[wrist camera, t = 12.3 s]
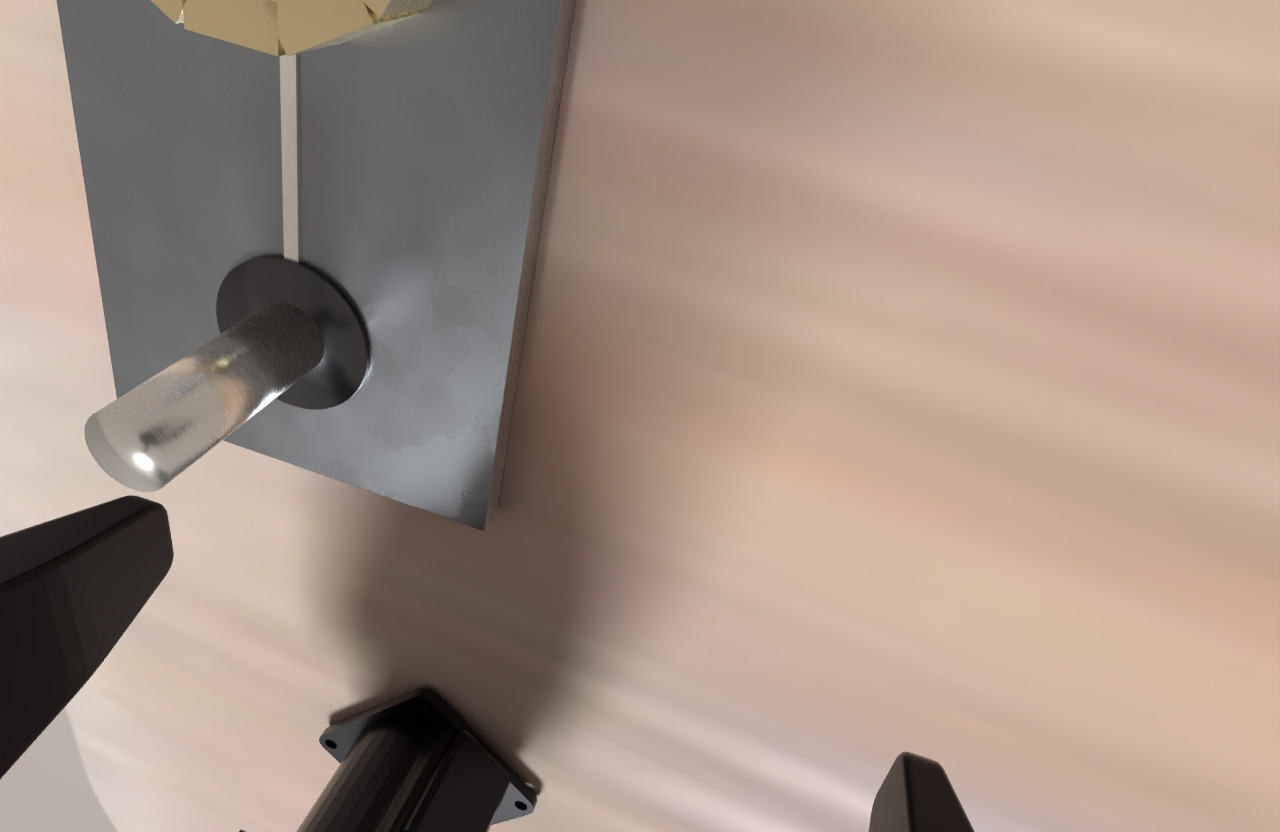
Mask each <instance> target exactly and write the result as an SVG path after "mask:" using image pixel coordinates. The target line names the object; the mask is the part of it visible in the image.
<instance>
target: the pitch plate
mask: <svg viewBox="0 0 1280 832" xmlns="http://www.w3.org/2000/svg"><path fill="white" fill-rule="evenodd" d="M57 5H58V11H59V18H60V25H61V31H62V38H63V45H64V51H65V58H66V64H67V71H68V78H69V84H70V91H71V97H72V104H73V111H74V117H75V124H76V130H77V137H78V144H79V150H80V157H81V164H82V170H83V177H84V183H85V190H86V197H87V203H88V210H89V216H90V223H91V230H92V236H93V243H94V250H95V256H96V263H97V269H98V276H99V283H100V289H101V296H102V302H103V309H104V316H105V322H106V329H107V335H108V342H109V349H110V355H111V362H112V369H113V375H114V382H115V388H116V395H117V400H115V401H114V402H112V403H110V404H109V405H107V406H106V407H104V408H102V409H101V410H99V411H98V412H96V413H94V414H93V415H92V416H91V417H89V419H88V420H87V422H86V425H85V439H86V443H87V446H88V448H89V450H90V452H91V454H92V456H93V457H94V459H95V460H96V462H97V463H98V464H99V465H100V467H101V468H102V469H103V470H104V471H105V472H106V473H107V474H108V475H110V476H111V477H112V478H113V479H115V480H116V481H118V482H119V483H121V484H123V485H125V486H127V487H129V488H131V489H134V490H137V491H142V492H153V491H157V490H159V489H161V488H162V487H164V486H165V485H166V484H167V483H169V482H170V481H171V480H172V479H174V478H175V477H176V476H178V475H179V474H180V473H181V472H183V471H184V470H185V469H186V468H188V467H189V466H190V465H192V464H193V463H194V462H195V461H197V460H198V459H199V458H200V457H202V456H203V455H204V454H206V453H207V452H208V451H209V450H211V449H212V448H213V447H214V446H216V445H217V444H218V443H220V442H221V441H222V440H224V441H227V442H229V443H232V444H235V445H238V446H241V447H244V448H247V449H250V450H253V451H255V452H258V453H261V454H264V455H267V456H270V457H273V458H276V459H278V460H281V461H284V462H287V463H290V464H293V465H296V466H299V467H302V468H304V469H307V470H310V471H313V472H316V473H319V474H322V475H325V476H327V477H330V478H333V479H336V480H339V481H342V482H345V483H348V484H351V485H353V486H356V487H359V488H362V489H365V490H368V491H371V492H374V493H376V494H379V495H382V496H385V497H388V498H391V499H394V500H397V501H400V502H402V503H405V504H408V505H411V506H414V507H417V508H420V509H423V510H425V511H428V512H431V513H434V514H437V515H440V516H443V517H446V518H449V519H451V520H454V521H457V522H460V523H463V524H466V525H469V526H472V527H474V528H477V529H480V530H483V531H484V530H485V529H486V527H487V526H488V524H489V523H490V521H491V520H492V518H493V517H494V515H495V514H496V512H497V510H498V504H499V497H500V491H501V484H502V478H503V471H504V465H505V458H506V452H507V445H508V439H509V432H510V425H511V419H512V412H513V406H514V399H515V393H516V386H517V380H518V373H519V367H520V360H521V354H522V347H523V340H524V334H525V327H526V321H527V314H528V308H529V301H530V295H531V288H532V282H533V275H534V269H535V262H536V255H537V249H538V242H539V236H540V229H541V223H542V216H543V210H544V203H545V197H546V190H547V184H548V177H549V170H550V164H551V157H552V151H553V144H554V138H555V131H556V125H557V118H558V112H559V105H560V99H561V92H562V85H563V79H564V72H565V66H566V59H567V53H568V46H569V40H570V33H571V27H572V20H573V14H574V7H575V0H57Z"/></svg>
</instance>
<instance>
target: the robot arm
mask: <svg viewBox="0 0 1280 832" xmlns="http://www.w3.org/2000/svg"><path fill="white" fill-rule="evenodd" d="M173 555H174V553H173V546H172V539H171V533H170V527H169V521H168V514H167V511H166V509H165V508H164V507H163V505H161V504H159V503H156V502H153V501H150V500H147V499H144V498H141V497H138V496H125V497H121V498H118V499H115V500H112V501H109V502H106V503H103V504H100V505H97V506H94V507H91V508H87V509H84V510H81V511H78V512H75V513H72V514H69V515H66V516H63V517H60V518H57V519H54V520H51V521H48V522H45V523H42V524H39V525H36V526H33V527H29V528H26V529H23V530H20V531H17V532H14V533H11V534H8V535H5V536H2V537H0V779H1V778H2V777H3V775H4V774H5V773H6V772H7V771H8V770H9V769H10V768H11V766H12V765H13V764H14V763H15V762H16V761H17V760H18V759H19V758H20V756H21V755H22V754H23V753H24V752H25V751H26V750H27V749H28V748H29V746H30V745H31V744H32V743H33V742H34V741H35V740H36V739H37V737H38V736H39V735H40V734H41V733H42V732H43V731H44V730H45V728H46V727H47V726H48V725H49V724H50V723H51V722H52V721H53V720H54V718H55V717H56V716H57V715H58V714H59V713H60V712H61V711H62V709H63V708H64V707H65V706H66V705H67V704H68V703H69V702H70V701H71V699H72V698H73V697H74V696H75V695H76V694H77V693H78V691H79V690H80V689H81V688H82V687H83V686H84V684H85V683H86V682H87V681H88V680H89V678H90V677H91V676H92V675H93V673H94V672H95V671H96V670H97V668H98V667H99V666H100V665H101V663H102V662H103V661H104V659H105V658H106V657H107V655H108V654H109V653H110V651H111V650H112V648H113V647H114V646H115V644H116V643H117V642H118V640H119V639H120V637H121V636H122V635H123V633H124V632H125V631H126V629H127V628H128V627H129V625H130V624H131V622H132V621H133V620H134V618H135V617H136V616H137V614H138V613H139V612H140V610H141V609H142V607H143V606H144V605H145V603H146V602H147V601H148V599H149V598H150V597H151V595H152V594H153V592H154V591H155V590H156V588H157V587H158V586H159V584H160V583H161V582H162V580H163V579H164V577H165V576H166V575H167V573H168V571H169V569H170V567H171V564H172V561H173ZM319 741H320V744H321V745H322V746H323V747H324V748H325V749H326V750H327V751H328V752H329V753H330V754H331V755H332V756H333V757H334V758H335V759H336V760H337V761H338V762H339V763H340V766H339V767H338V769H337V770H336V772H335V774H334V775H333V777H332V778H331V780H330V781H329V783H328V784H327V786H326V787H325V789H324V790H323V792H322V793H321V795H320V797H319V798H318V800H317V801H316V803H315V804H314V806H313V807H312V809H311V810H310V812H309V813H308V815H307V816H306V818H305V819H304V821H303V823H302V824H301V826H300V827H299V829H298V830H297V832H488V831H489V829H490V826H491V825H493V824H497V823H500V822H504V821H507V820H511V819H514V818H518V817H521V816H525V815H528V814H531V813H532V812H533V810H534V808H535V805H536V803H537V797H536V795H535V794H534V793H533V792H532V791H531V790H530V789H529V788H528V787H527V786H526V785H525V783H524V782H523V781H522V780H521V779H520V778H519V777H518V776H517V775H516V774H515V773H514V772H513V771H512V770H511V769H510V768H509V767H508V766H507V765H506V764H505V763H504V762H503V761H502V760H501V759H500V758H499V757H498V756H497V755H496V754H495V753H494V752H493V751H492V750H491V749H490V748H489V747H488V746H487V745H486V744H485V743H484V742H483V740H482V739H481V738H480V737H479V736H478V735H477V734H476V733H475V732H474V731H473V730H472V729H471V728H470V727H469V726H468V725H467V724H466V723H465V722H464V721H463V720H462V719H461V718H460V717H459V716H458V715H457V714H456V713H455V712H454V711H453V710H452V709H451V708H450V707H449V706H448V705H447V704H446V703H445V702H444V701H443V700H442V698H441V697H440V696H439V695H438V694H436V693H435V692H434V691H432V690H430V689H428V688H419V689H417V690H414V691H412V692H410V693H407V694H405V695H403V696H400V697H398V698H395V699H393V700H391V701H388V702H386V703H384V704H381V705H379V706H377V707H374V708H372V709H370V710H367V711H365V712H363V713H360V714H358V715H356V716H353V717H351V718H348V719H346V720H344V721H341V722H339V723H337V724H334V725H332V726H330V727H328V728H326V729H325V731H324V732H323V734H322V735H321V736H320V739H319ZM239 832H245V831H243V830H242V829H241V830H240V831H239ZM869 832H974V830H973V828H972V826H971V824H970V822H969V820H968V818H967V816H966V814H965V812H964V809H963V807H962V805H961V803H960V801H959V799H958V797H957V795H956V793H955V791H954V789H953V787H952V785H951V783H950V781H949V779H948V777H947V775H946V773H945V771H944V769H943V768H942V766H941V765H940V764H939V763H938V762H936V761H934V760H931V759H928V758H925V757H922V756H919V755H916V754H913V753H910V752H902V753H901V754H900V755H899V756H898V757H897V758H896V760H895V762H894V763H893V765H892V767H891V769H890V771H889V773H888V774H887V776H886V778H885V780H884V782H883V783H882V785H881V787H880V789H879V791H878V793H877V795H876V797H875V800H874V804H873V808H872V812H871V819H870V827H869Z"/></svg>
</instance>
